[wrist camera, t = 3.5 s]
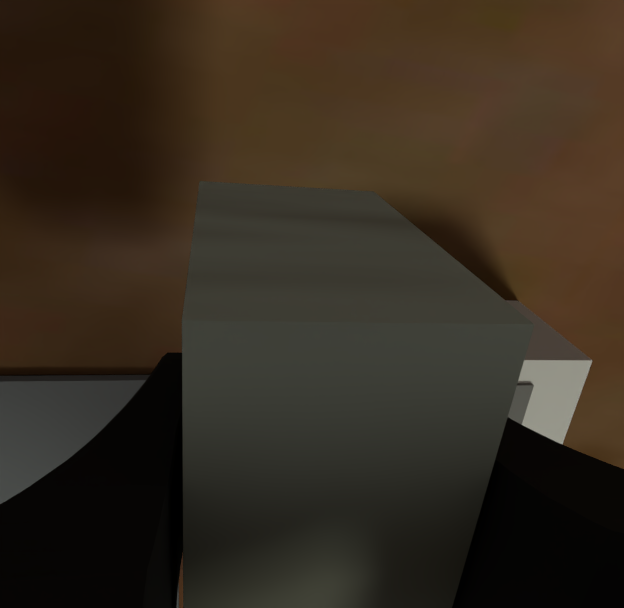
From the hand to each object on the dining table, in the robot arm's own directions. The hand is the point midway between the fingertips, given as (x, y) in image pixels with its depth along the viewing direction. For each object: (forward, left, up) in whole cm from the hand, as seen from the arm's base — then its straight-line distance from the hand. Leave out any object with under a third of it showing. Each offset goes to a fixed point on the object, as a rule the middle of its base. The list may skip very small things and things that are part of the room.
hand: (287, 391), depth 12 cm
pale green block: (0, 0, -2) cm, 2 cm away
